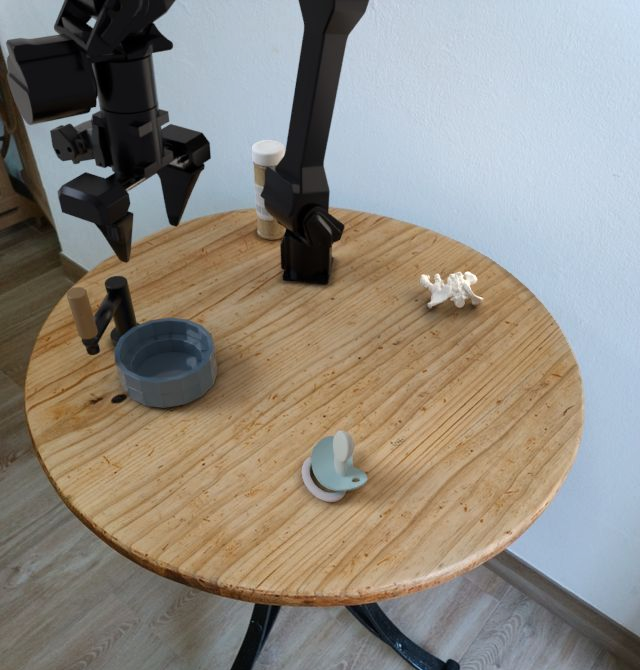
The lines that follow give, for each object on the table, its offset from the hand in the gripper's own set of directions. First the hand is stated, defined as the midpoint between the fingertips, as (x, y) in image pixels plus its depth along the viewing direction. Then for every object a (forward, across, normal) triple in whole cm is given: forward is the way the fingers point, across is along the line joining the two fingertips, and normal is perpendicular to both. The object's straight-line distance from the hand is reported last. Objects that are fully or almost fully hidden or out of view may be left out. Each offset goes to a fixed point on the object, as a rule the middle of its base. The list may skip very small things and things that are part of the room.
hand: (150, 242), depth 79 cm
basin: (+13, +7, +6) cm, 16 cm away
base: (+13, +4, -2) cm, 13 cm away
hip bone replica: (+12, -24, +30) cm, 40 cm away
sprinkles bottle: (+12, -27, 0) cm, 29 cm away
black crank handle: (+11, +8, -1) cm, 14 cm away
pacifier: (+13, +12, +30) cm, 35 cm away
